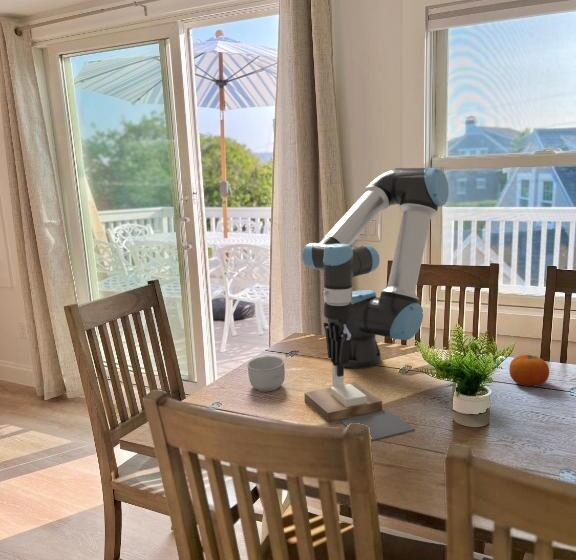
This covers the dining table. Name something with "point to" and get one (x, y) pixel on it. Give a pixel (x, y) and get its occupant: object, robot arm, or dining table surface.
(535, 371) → the fruit
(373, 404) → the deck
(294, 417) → the dining table surface
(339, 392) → the white rectangular block
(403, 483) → the dining table surface
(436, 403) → the dining table surface
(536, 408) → the dining table surface
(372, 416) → the mat
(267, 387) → the teacup
